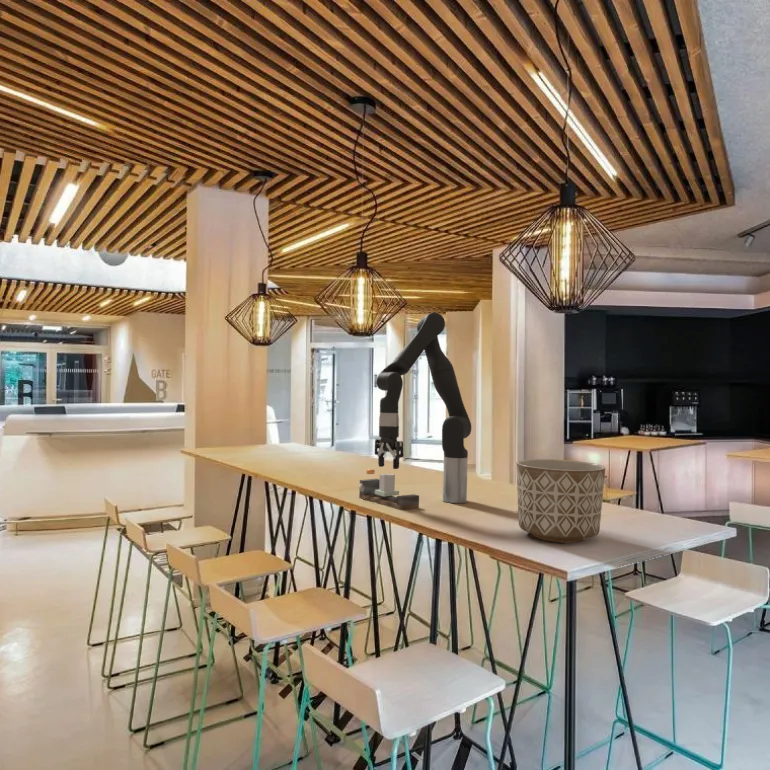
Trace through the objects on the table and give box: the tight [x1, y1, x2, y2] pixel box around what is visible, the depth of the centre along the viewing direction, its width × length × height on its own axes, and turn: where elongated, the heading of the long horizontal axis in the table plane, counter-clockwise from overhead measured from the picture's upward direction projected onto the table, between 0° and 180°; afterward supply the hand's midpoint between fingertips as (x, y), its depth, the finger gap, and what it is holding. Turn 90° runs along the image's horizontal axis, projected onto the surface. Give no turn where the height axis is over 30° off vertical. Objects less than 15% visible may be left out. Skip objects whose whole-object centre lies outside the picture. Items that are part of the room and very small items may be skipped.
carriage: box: [375, 473, 400, 496], centre depth 237 cm, size 6×7×8 cm
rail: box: [358, 478, 420, 511], centre depth 236 cm, size 27×8×7 cm, turn 37°
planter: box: [516, 458, 606, 543], centre depth 190 cm, size 26×26×22 cm
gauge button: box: [365, 468, 376, 475], centre depth 246 cm, size 3×3×2 cm
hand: (388, 467), depth 236 cm, fingers open, 8 cm apart
